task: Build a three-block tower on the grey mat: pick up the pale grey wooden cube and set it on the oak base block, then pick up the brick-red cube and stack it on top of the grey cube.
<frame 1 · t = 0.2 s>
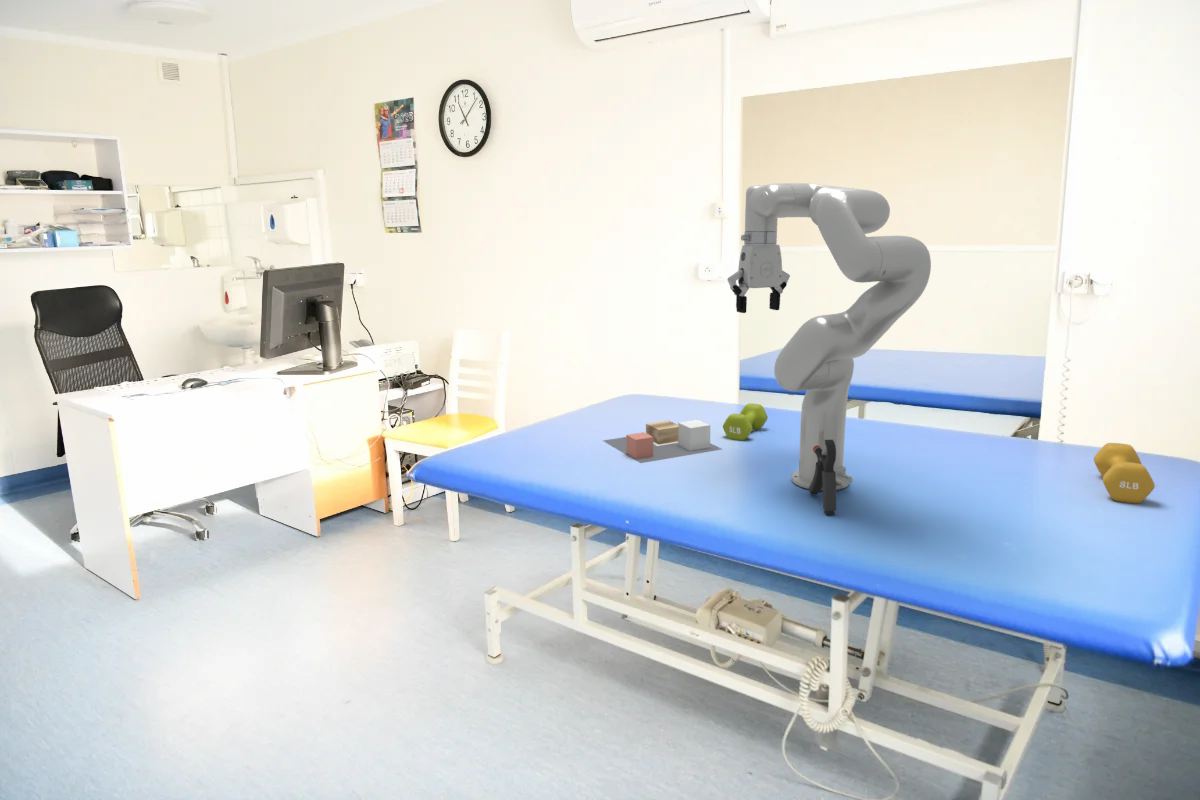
hand: (757, 310, 188), 36 cm above the table, tool pointing down, fingers open, 9 cm apart
grey mat: (661, 446, 204), on the table
grey cube: (694, 446, 203), resting on grey mat
oak base: (663, 439, 209), resting on grey mat
hand grip strengthener: (821, 505, 162), on the table
red cube: (639, 454, 196), resting on grey mat
dumbbell 2: (1119, 490, 168), on the table
dumbbell: (745, 435, 214), on the table
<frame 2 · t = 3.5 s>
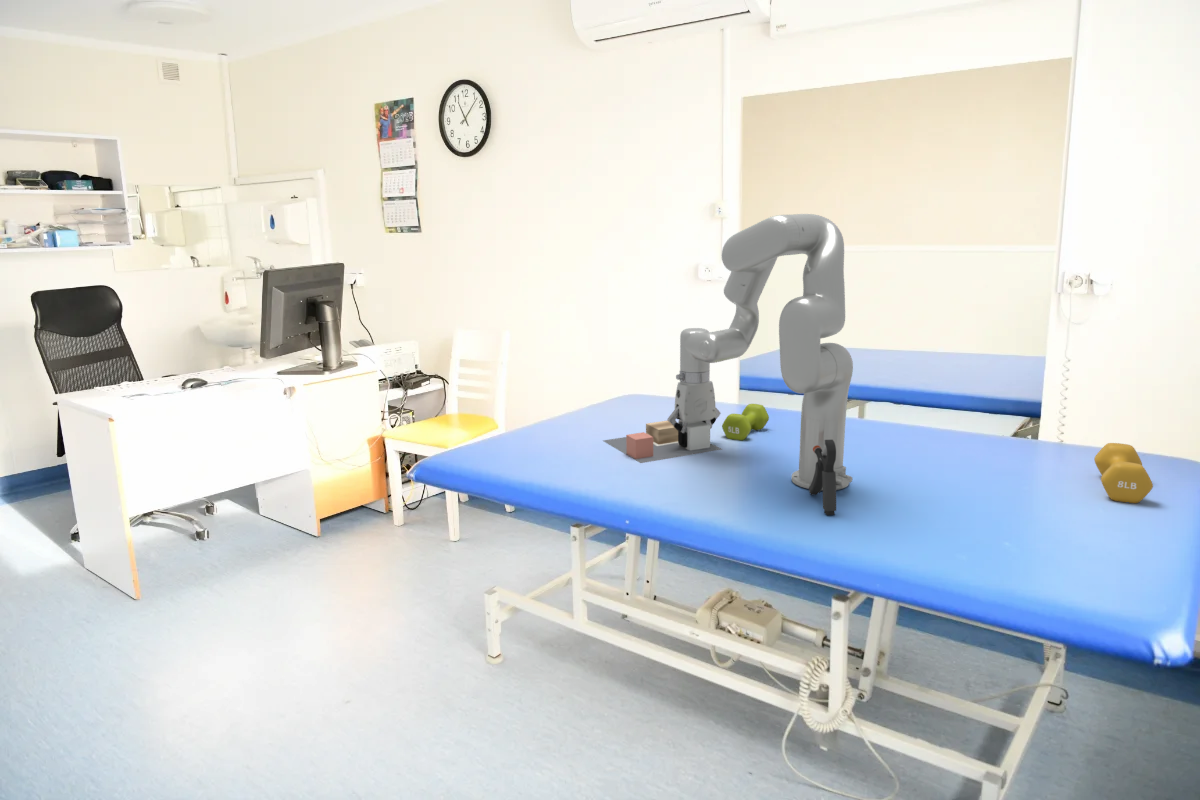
hand: (694, 443, 203), 1 cm above the table, tool pointing down, fingers closed on grey cube, 6 cm apart
grey cube: (694, 445, 203), resting on grey mat, touching gripper
everything else where it was.
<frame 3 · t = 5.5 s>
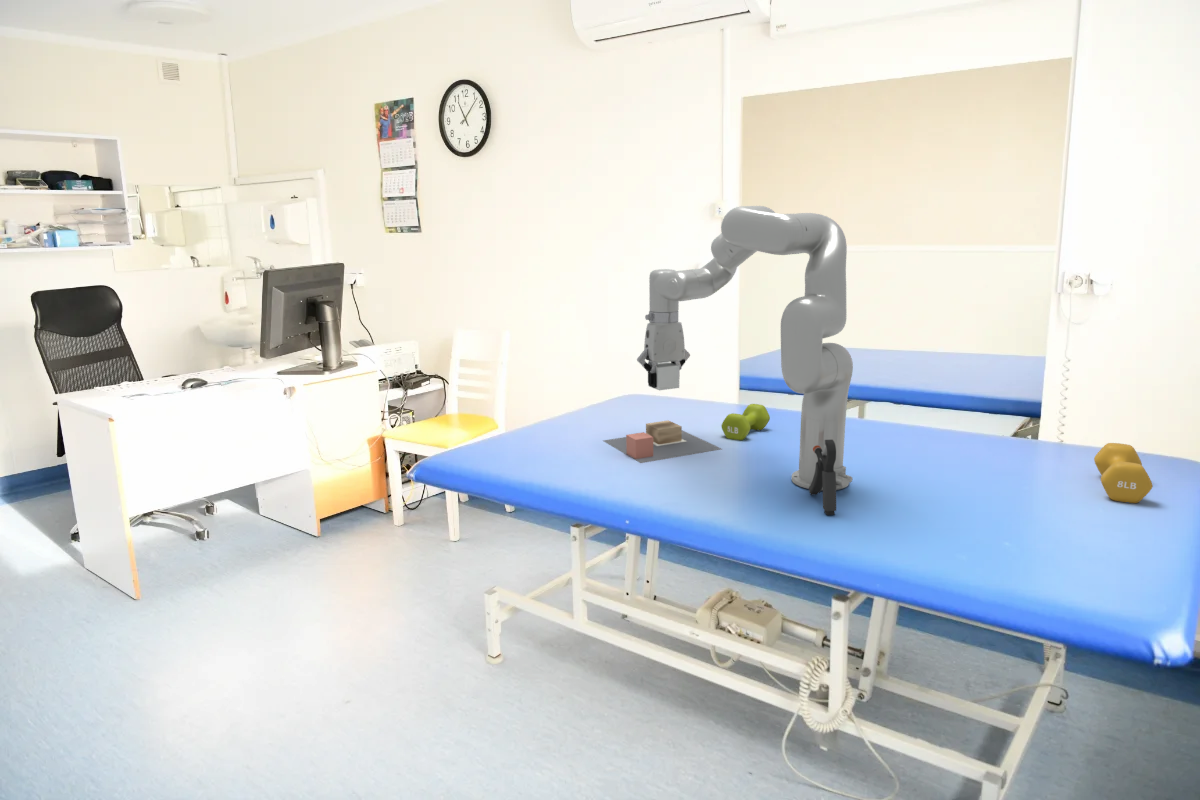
hand: (663, 384, 205), 15 cm above the table, tool pointing down, fingers closed on grey cube, 6 cm apart
grey cube: (663, 386, 206), point 15 cm above the table, touching gripper
everything else where it was.
when the fingers open (6 cm above the table, at t = 7.6 s): grey cube drops 1 cm, resting on oak base.
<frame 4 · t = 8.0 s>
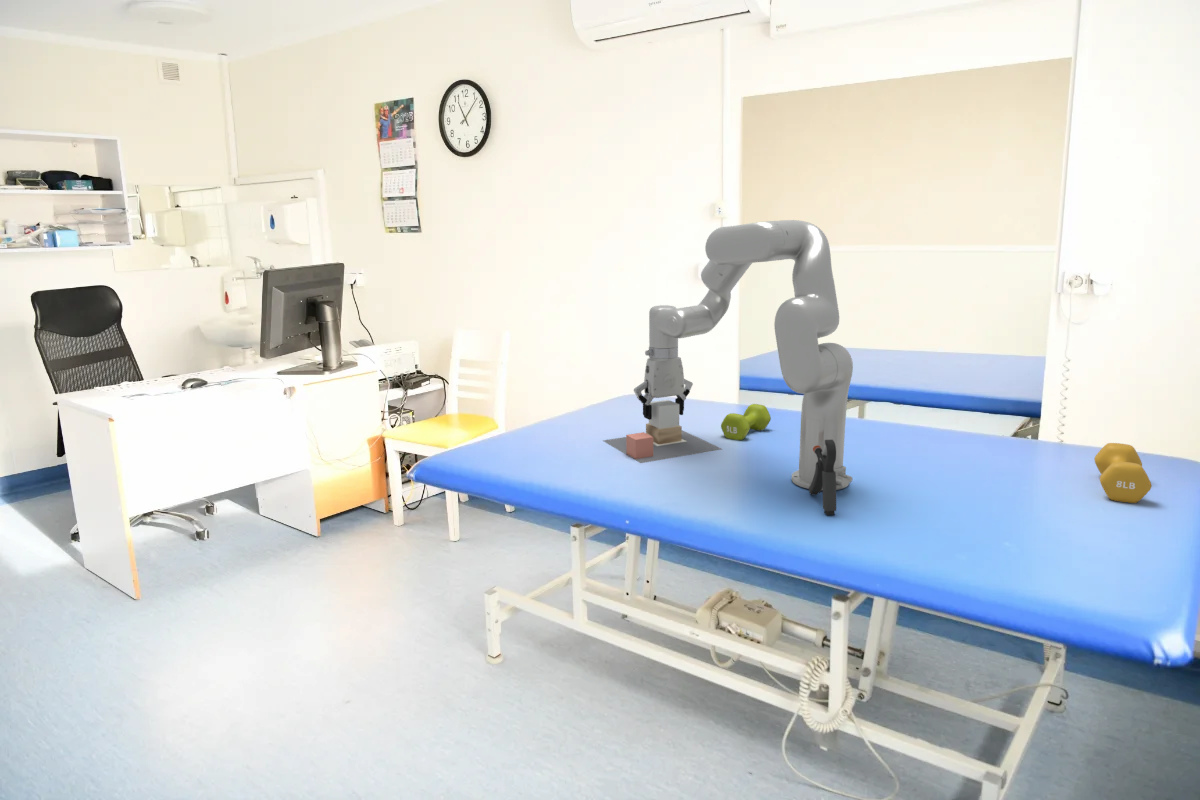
hand: (663, 416, 208), 7 cm above the table, tool pointing down, fingers open, 9 cm apart
grey cube: (663, 425, 208), point 4 cm above the table, touching oak base
oak base: (663, 439, 209), resting on grey mat, touching grey cube
everything else where it was.
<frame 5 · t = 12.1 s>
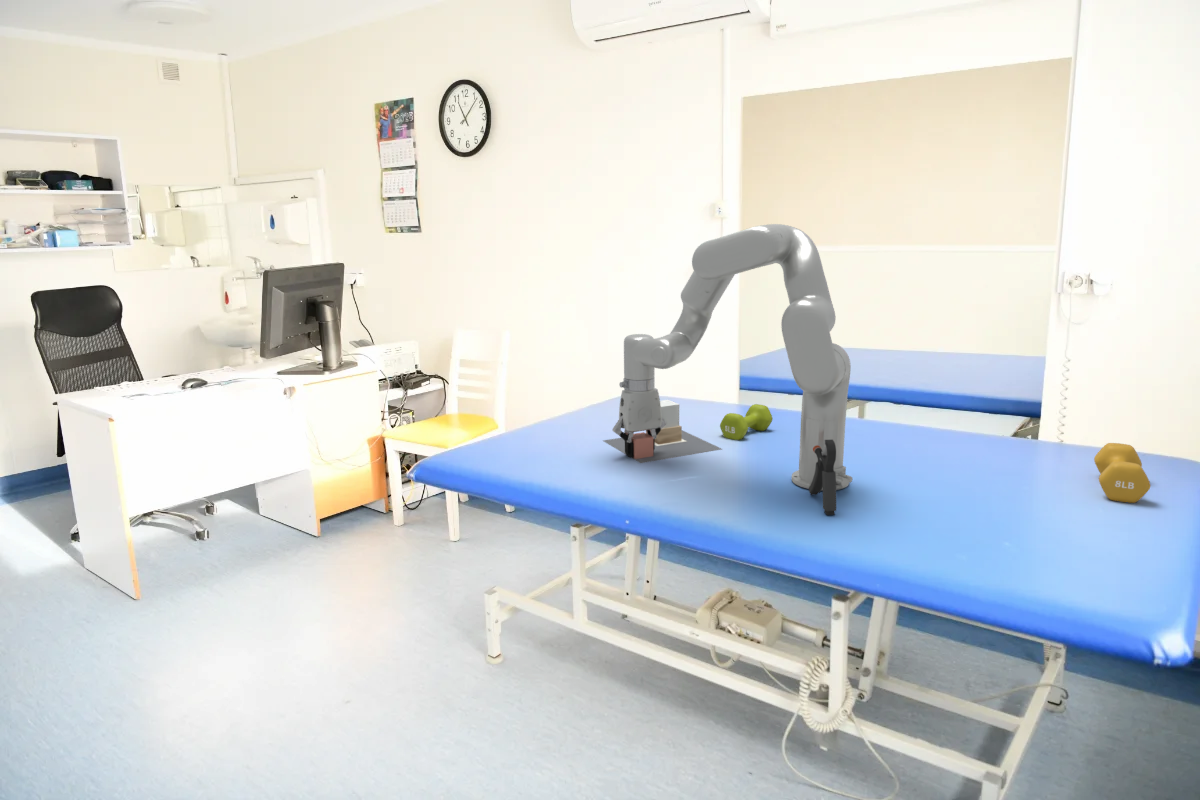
hand: (639, 454, 196), 1 cm above the table, tool pointing down, fingers closed on red cube, 5 cm apart
red cube: (639, 454, 196), resting on grey mat, touching gripper
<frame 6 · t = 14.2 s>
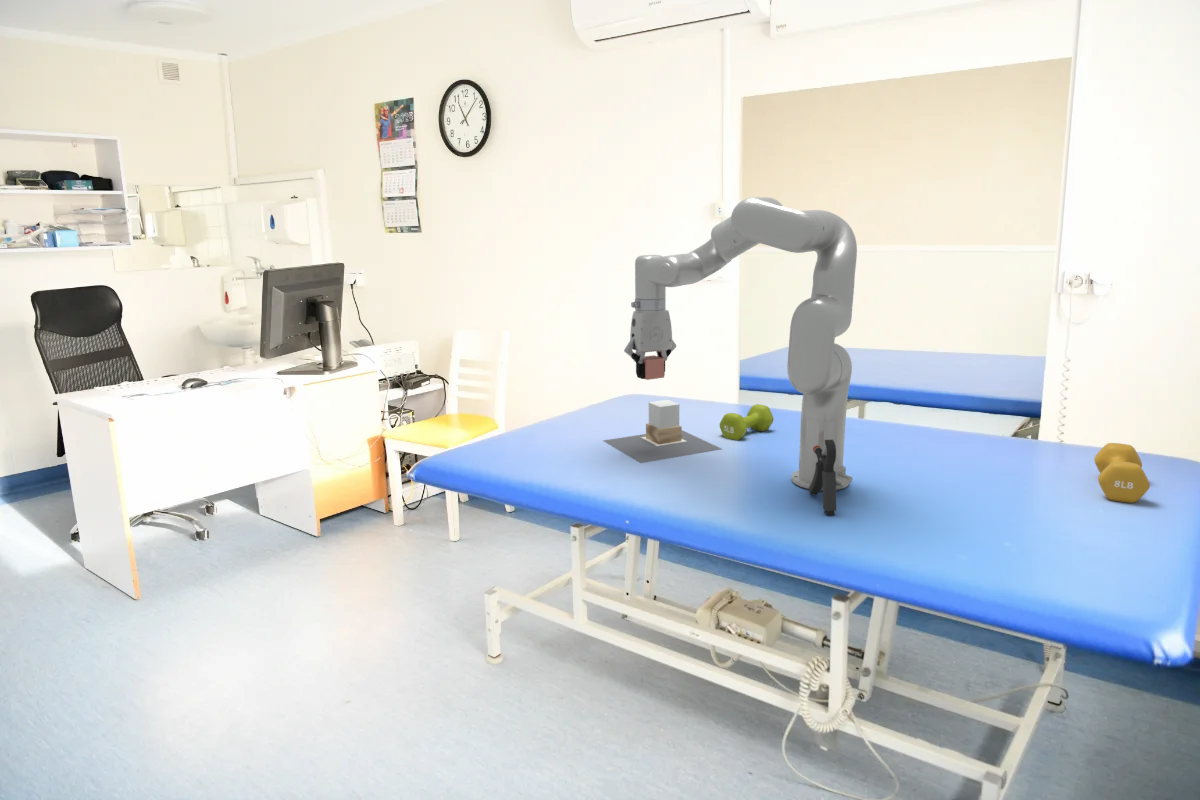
hand: (650, 376, 198), 19 cm above the table, tool pointing down, fingers closed on red cube, 5 cm apart
red cube: (650, 377, 198), point 19 cm above the table, touching gripper
when the fingers open (12 cm above the table, at t = 16.4 s): red cube drops 1 cm, resting on grey cube.
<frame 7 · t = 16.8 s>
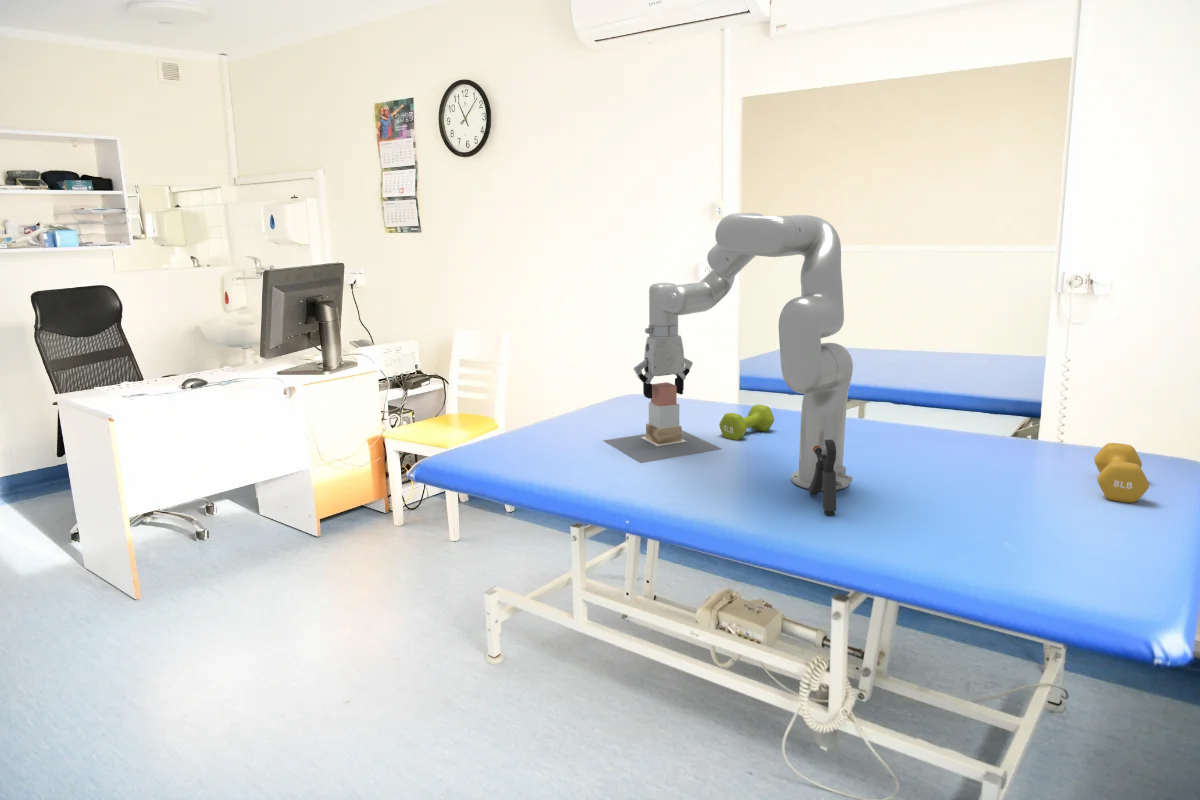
hand: (663, 395, 206), 13 cm above the table, tool pointing down, fingers open, 9 cm apart
grey cube: (663, 424, 208), point 4 cm above the table, touching oak base, red cube
red cube: (663, 403, 207), point 10 cm above the table, touching grey cube
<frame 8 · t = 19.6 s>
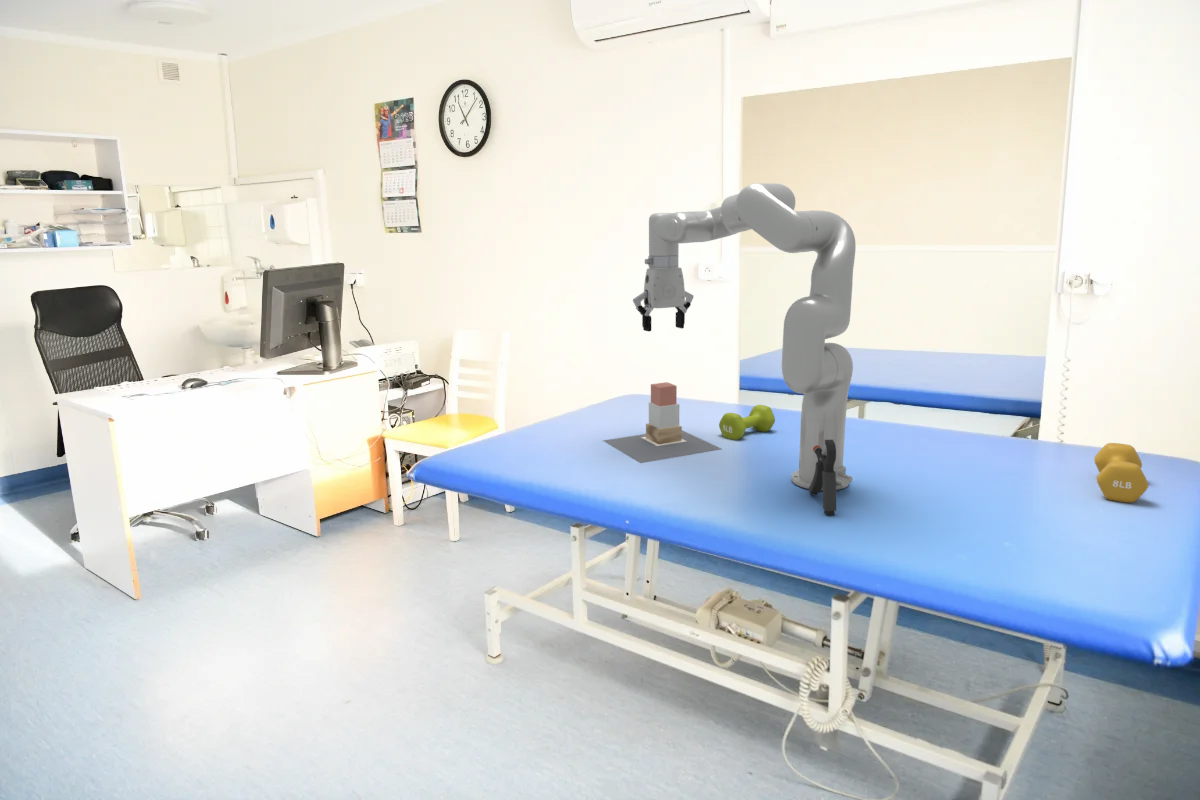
hand: (663, 329, 202), 30 cm above the table, tool pointing down, fingers open, 9 cm apart
at the end: grey cube 0.1 cm off-centre on the oak base, point 4.0 cm above the oak base's base; red cube 0.1 cm off-centre on the grey cube, point 6.0 cm above the grey cube's base; red cube tilted 0° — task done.
